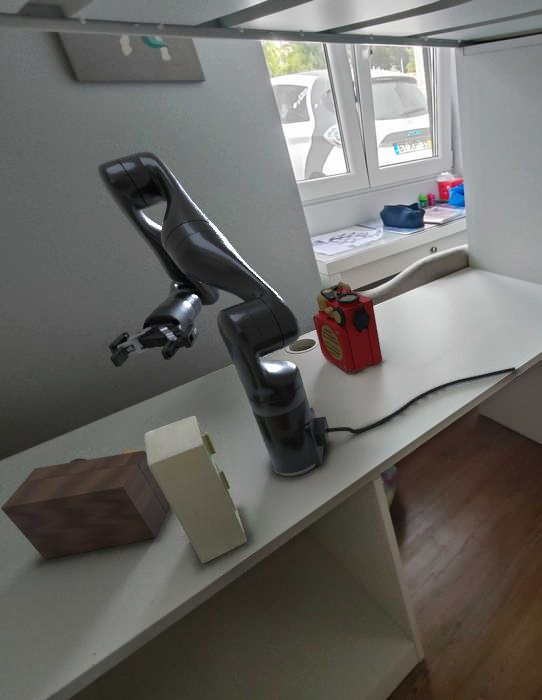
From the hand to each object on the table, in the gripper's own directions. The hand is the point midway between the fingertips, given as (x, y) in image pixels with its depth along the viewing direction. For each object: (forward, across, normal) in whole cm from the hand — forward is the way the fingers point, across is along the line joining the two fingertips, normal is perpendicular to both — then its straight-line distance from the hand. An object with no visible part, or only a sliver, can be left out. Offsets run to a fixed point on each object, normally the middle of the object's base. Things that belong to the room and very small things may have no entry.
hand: (140, 359), depth 82 cm
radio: (-23, +35, +20) cm, 47 cm away
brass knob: (+16, 0, +14) cm, 21 cm away
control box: (+20, -4, +20) cm, 28 cm away
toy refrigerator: (+27, +15, +20) cm, 37 cm away
